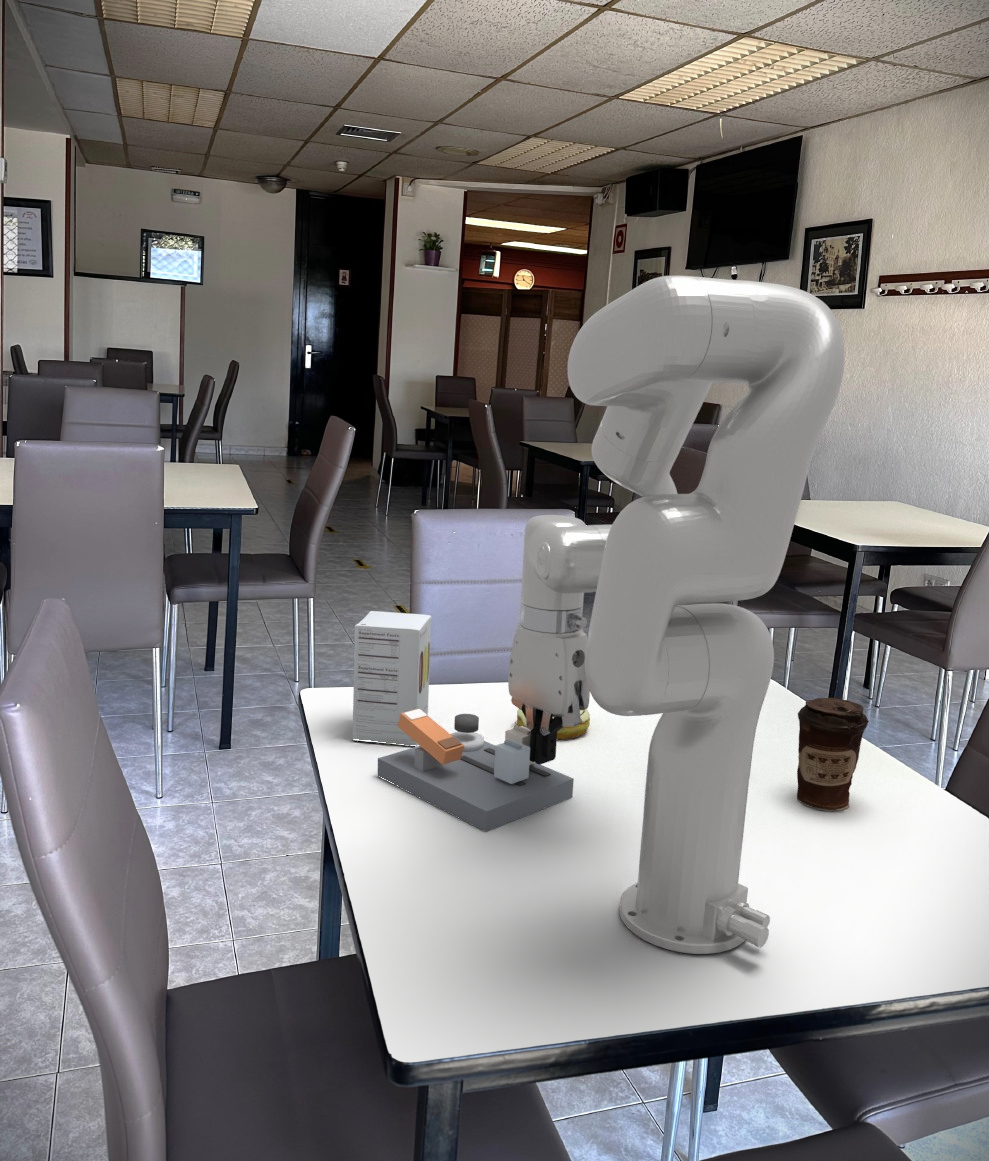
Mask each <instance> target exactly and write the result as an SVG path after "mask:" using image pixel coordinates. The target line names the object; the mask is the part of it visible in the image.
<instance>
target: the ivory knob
mask: <svg viewBox="0 0 989 1161" xmlns="http://www.w3.org/2000/svg"><path fill="white" fill-rule="evenodd" d="M530 732H531V730H529V729H528V728H526V727H523V726H520V727H519V726H518V725H514V726H513V728H511V729H508V730H505V731H504V733H505V735H504V741H506V740H509V741H511V740H514V741H516V742H519V743H521V744H524V745H526V746H529V747H530ZM534 763H535V762H532V761H530V760H529V765H531V764H534Z"/></svg>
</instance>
